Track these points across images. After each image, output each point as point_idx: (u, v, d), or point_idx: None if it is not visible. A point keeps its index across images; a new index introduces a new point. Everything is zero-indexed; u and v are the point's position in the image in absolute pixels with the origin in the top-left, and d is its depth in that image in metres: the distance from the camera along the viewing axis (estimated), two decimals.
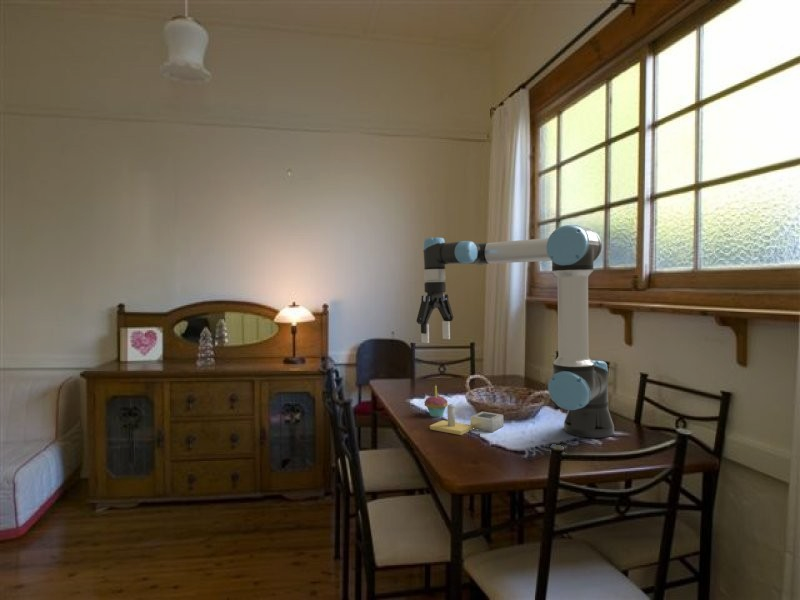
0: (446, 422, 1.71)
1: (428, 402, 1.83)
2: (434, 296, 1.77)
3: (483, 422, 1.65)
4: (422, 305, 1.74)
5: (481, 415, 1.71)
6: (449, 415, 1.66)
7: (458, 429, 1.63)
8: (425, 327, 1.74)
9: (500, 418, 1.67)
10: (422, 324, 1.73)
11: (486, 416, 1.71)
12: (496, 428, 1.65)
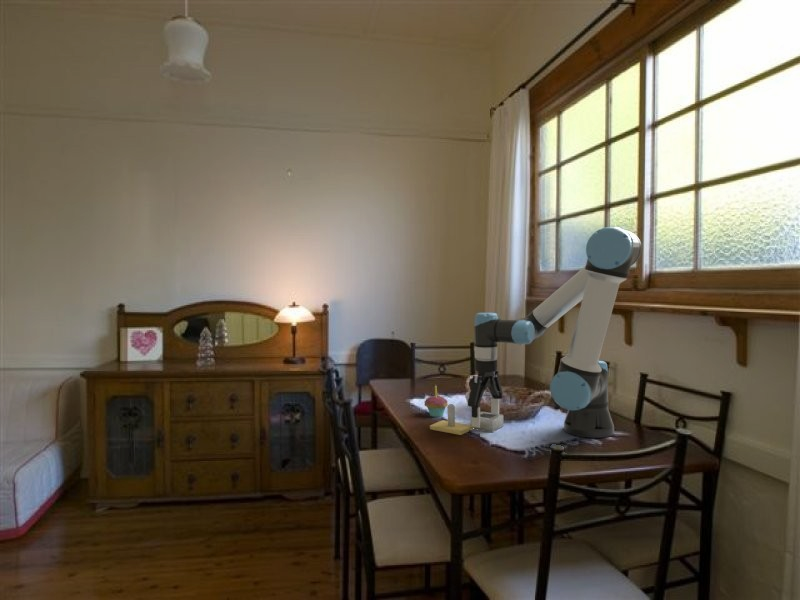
0: (446, 422, 1.71)
1: (428, 402, 1.83)
2: (485, 376, 1.66)
3: (483, 422, 1.65)
4: (473, 387, 1.62)
5: (481, 415, 1.71)
6: (449, 415, 1.66)
7: (458, 429, 1.63)
8: (476, 411, 1.62)
9: (500, 418, 1.67)
10: (473, 408, 1.62)
11: (486, 416, 1.71)
12: (496, 428, 1.65)
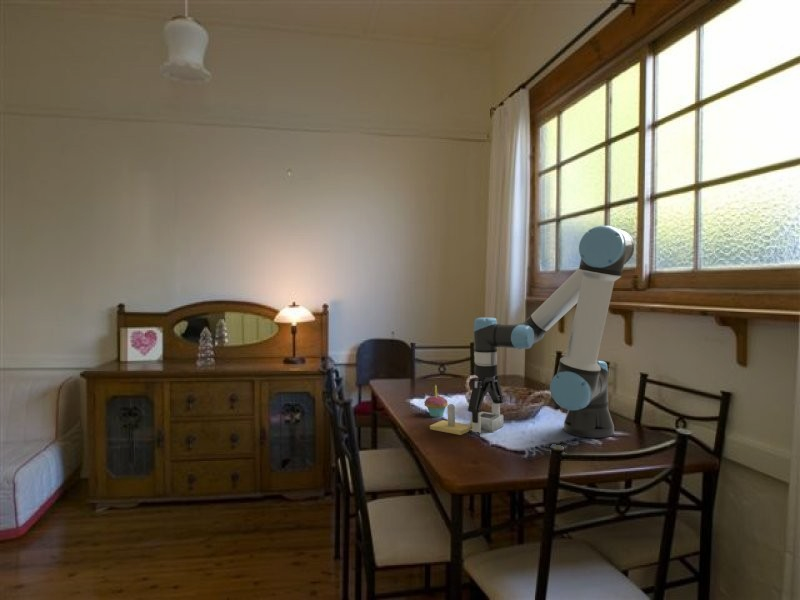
0: (446, 422, 1.71)
1: (428, 402, 1.83)
2: (485, 381, 1.66)
3: (483, 422, 1.65)
4: (473, 392, 1.62)
5: (481, 415, 1.71)
6: (449, 415, 1.66)
7: (458, 429, 1.63)
8: (477, 416, 1.62)
9: (500, 418, 1.67)
10: (474, 413, 1.62)
11: (486, 416, 1.71)
12: (496, 428, 1.65)
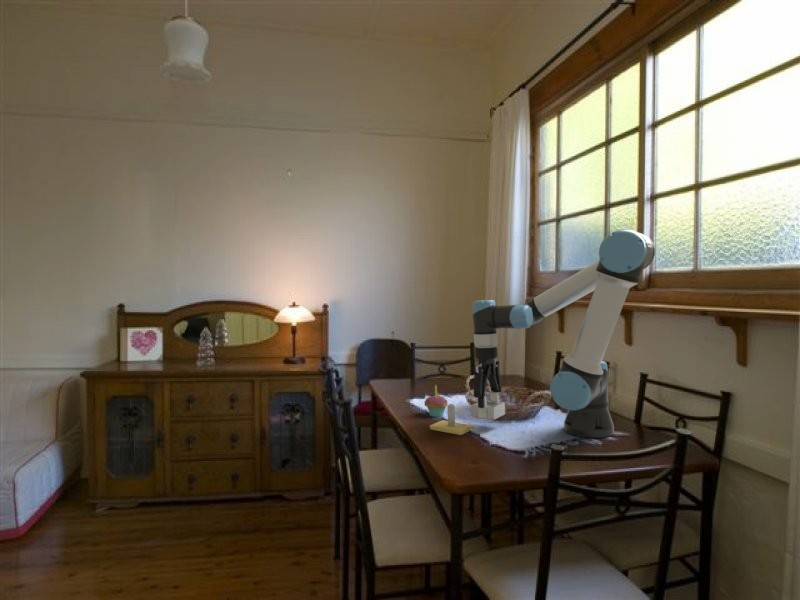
0: (446, 422, 1.71)
1: (428, 402, 1.83)
2: (486, 362, 1.65)
3: None
4: (476, 378, 1.63)
5: None
6: (449, 415, 1.66)
7: (458, 429, 1.63)
8: (483, 401, 1.63)
9: (501, 405, 1.67)
10: (479, 398, 1.63)
11: (487, 404, 1.71)
12: (498, 415, 1.65)
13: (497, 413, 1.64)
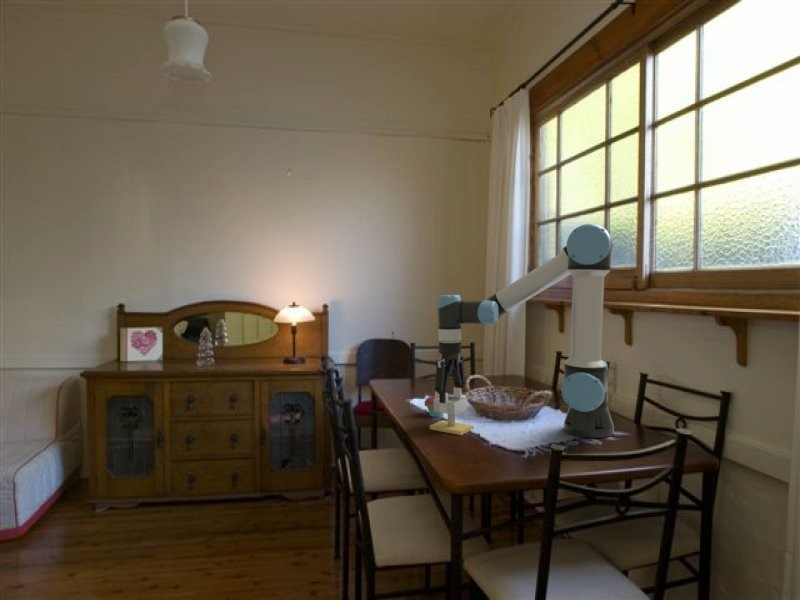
0: (446, 422, 1.71)
1: (428, 402, 1.83)
2: (449, 357, 1.64)
3: None
4: (438, 373, 1.62)
5: None
6: (449, 415, 1.66)
7: (458, 429, 1.63)
8: (444, 396, 1.63)
9: (463, 401, 1.66)
10: (441, 393, 1.62)
11: (450, 399, 1.70)
12: (459, 411, 1.64)
13: (458, 408, 1.64)
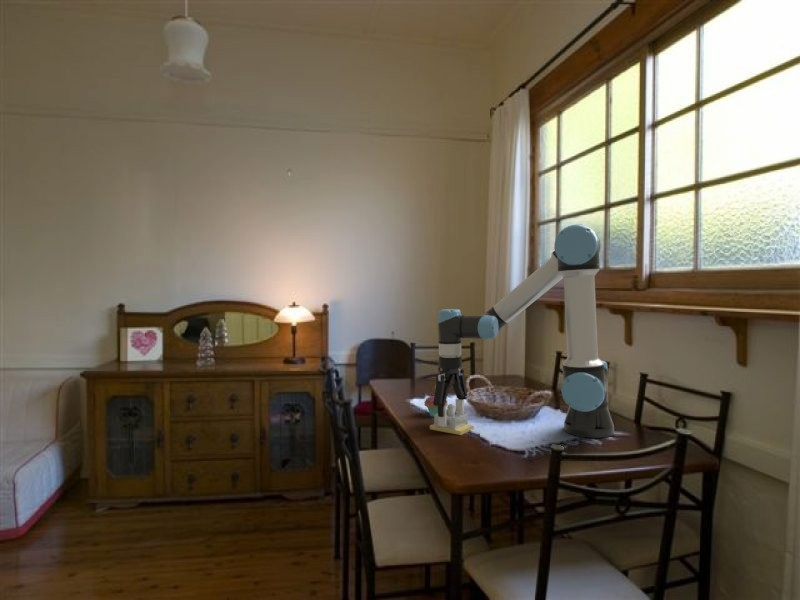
0: None
1: (428, 402, 1.83)
2: (449, 372, 1.65)
3: None
4: (437, 386, 1.62)
5: None
6: (449, 415, 1.66)
7: (458, 429, 1.63)
8: (442, 410, 1.62)
9: (464, 416, 1.67)
10: (439, 407, 1.62)
11: None
12: (459, 426, 1.64)
13: (459, 424, 1.64)
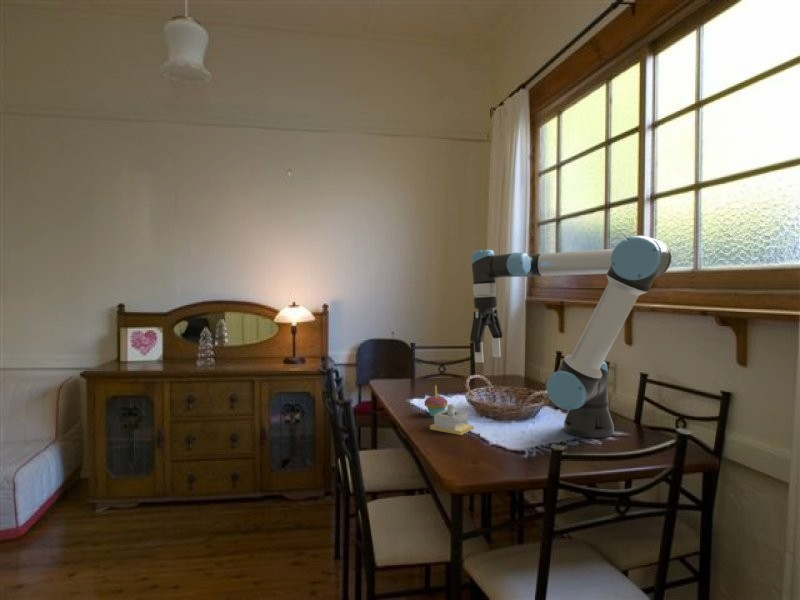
0: None
1: (428, 402, 1.83)
2: (486, 312, 1.67)
3: (446, 420, 1.64)
4: (474, 322, 1.63)
5: (445, 413, 1.70)
6: (449, 415, 1.66)
7: (458, 429, 1.63)
8: (479, 345, 1.63)
9: (464, 416, 1.67)
10: (476, 342, 1.62)
11: None
12: (459, 426, 1.64)
13: (459, 424, 1.64)
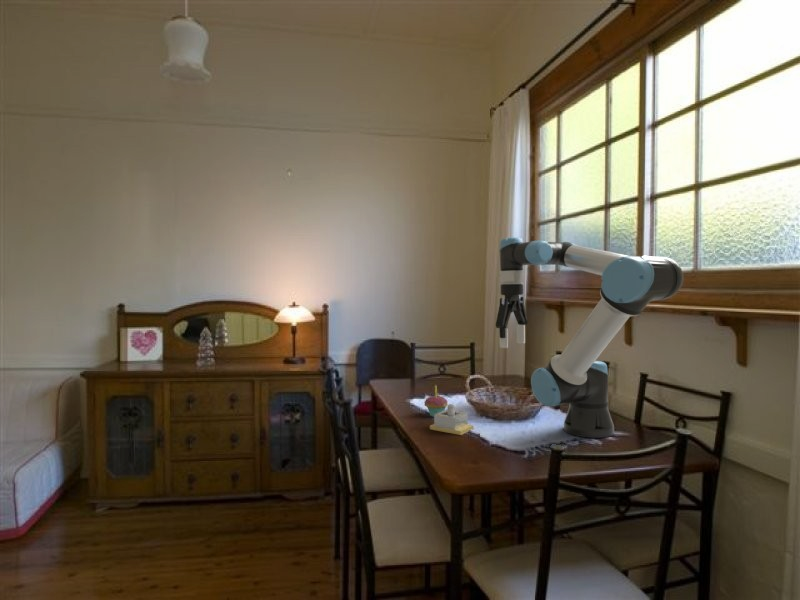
0: None
1: (428, 402, 1.83)
2: (512, 299, 1.70)
3: (446, 420, 1.64)
4: (500, 309, 1.66)
5: (445, 413, 1.70)
6: (449, 415, 1.66)
7: (458, 429, 1.63)
8: (504, 331, 1.66)
9: (464, 416, 1.67)
10: (501, 328, 1.65)
11: None
12: (459, 426, 1.64)
13: (459, 424, 1.64)
